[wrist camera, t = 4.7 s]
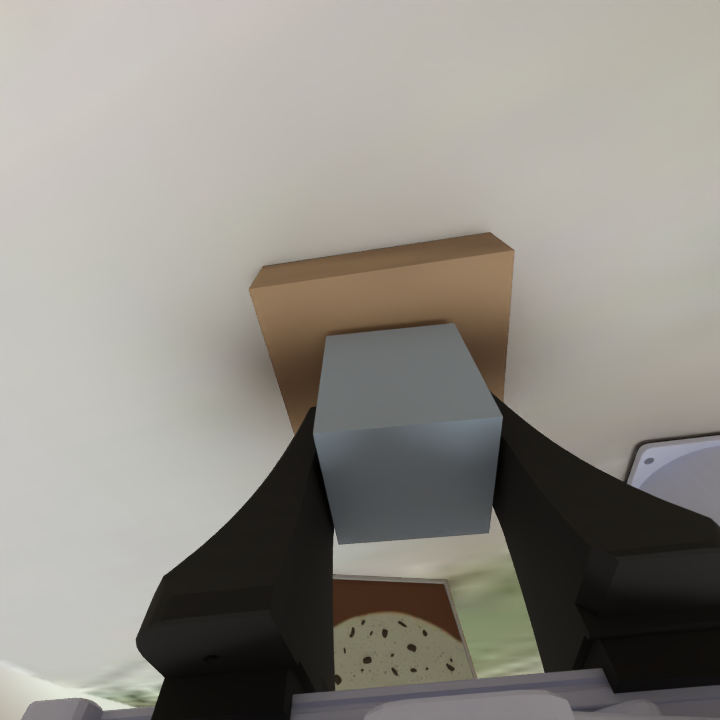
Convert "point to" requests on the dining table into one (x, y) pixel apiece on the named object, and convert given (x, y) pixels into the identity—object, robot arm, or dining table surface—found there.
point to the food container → (396, 633)
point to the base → (384, 305)
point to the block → (406, 435)
